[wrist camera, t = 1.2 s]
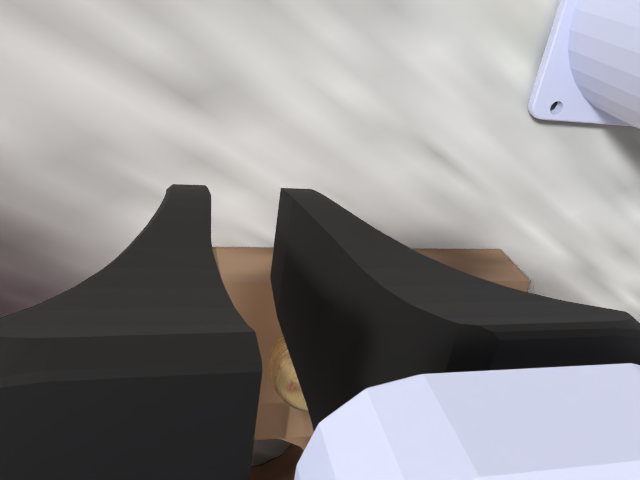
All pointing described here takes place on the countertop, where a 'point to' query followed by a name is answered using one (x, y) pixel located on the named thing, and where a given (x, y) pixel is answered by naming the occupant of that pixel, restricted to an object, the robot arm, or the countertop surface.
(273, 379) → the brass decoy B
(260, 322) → the brown square tray
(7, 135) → the countertop surface
